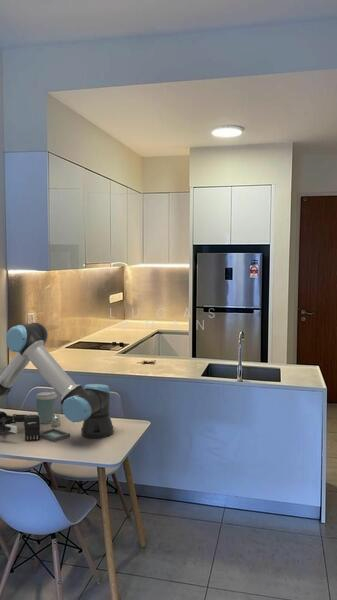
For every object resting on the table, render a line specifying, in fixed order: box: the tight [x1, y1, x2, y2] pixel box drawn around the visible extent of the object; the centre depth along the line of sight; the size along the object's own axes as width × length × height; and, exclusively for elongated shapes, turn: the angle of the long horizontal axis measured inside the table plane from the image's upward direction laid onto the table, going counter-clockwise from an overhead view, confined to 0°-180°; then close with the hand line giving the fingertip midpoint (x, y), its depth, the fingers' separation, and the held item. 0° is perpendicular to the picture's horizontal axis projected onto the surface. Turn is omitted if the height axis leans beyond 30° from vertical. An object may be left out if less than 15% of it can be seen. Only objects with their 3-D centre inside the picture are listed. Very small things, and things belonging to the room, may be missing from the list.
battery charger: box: [23, 413, 41, 442], centre depth 218 cm, size 7×4×11 cm, turn 100°
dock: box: [40, 427, 71, 443], centre depth 223 cm, size 12×9×2 cm
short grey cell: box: [51, 413, 61, 428], centre depth 238 cm, size 4×4×6 cm
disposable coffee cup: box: [35, 391, 58, 424], centre depth 245 cm, size 11×11×15 cm
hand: (28, 425), depth 219 cm, fingers open, 13 cm apart
